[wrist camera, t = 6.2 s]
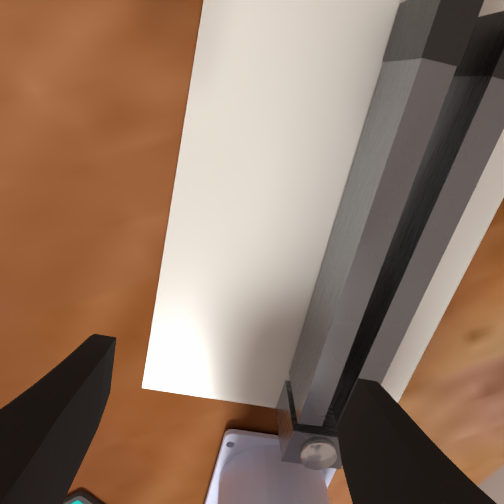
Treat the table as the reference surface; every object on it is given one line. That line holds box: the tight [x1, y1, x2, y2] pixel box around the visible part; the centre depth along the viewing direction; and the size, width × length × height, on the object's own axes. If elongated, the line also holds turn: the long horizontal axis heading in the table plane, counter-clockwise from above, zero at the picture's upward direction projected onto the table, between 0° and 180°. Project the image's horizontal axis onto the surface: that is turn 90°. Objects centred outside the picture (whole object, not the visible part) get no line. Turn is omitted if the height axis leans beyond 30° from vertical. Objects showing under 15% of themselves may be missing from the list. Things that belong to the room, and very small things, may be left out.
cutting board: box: [142, 0, 504, 408], centre depth 19 cm, size 24×15×1 cm, turn 167°
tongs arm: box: [289, 0, 484, 426], centre depth 17 cm, size 18×1×4 cm, turn 169°
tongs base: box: [276, 11, 504, 470], centre depth 17 cm, size 21×3×4 cm, turn 167°
